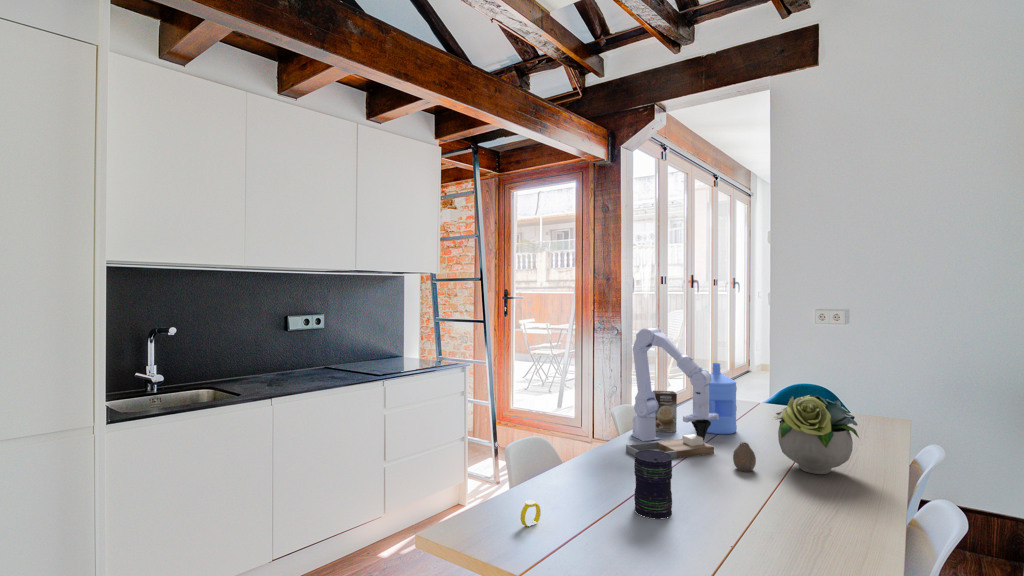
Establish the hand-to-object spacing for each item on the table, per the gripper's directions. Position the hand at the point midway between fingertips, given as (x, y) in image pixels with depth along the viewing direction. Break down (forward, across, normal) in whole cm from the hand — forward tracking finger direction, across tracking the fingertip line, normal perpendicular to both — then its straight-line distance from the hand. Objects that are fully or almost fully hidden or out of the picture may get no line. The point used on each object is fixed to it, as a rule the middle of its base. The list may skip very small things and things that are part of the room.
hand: (700, 440), depth 195 cm
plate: (+3, -7, 0) cm, 8 cm away
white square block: (+1, -4, 0) cm, 4 cm away
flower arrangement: (+4, +20, -31) cm, 37 cm away
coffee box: (+4, +3, +27) cm, 27 cm away
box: (+3, -22, 0) cm, 22 cm away
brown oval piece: (+4, -1, -23) cm, 23 cm away
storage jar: (+4, -48, -41) cm, 63 cm away
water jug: (+4, +24, +20) cm, 31 cm away
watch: (+4, -82, -38) cm, 91 cm away
